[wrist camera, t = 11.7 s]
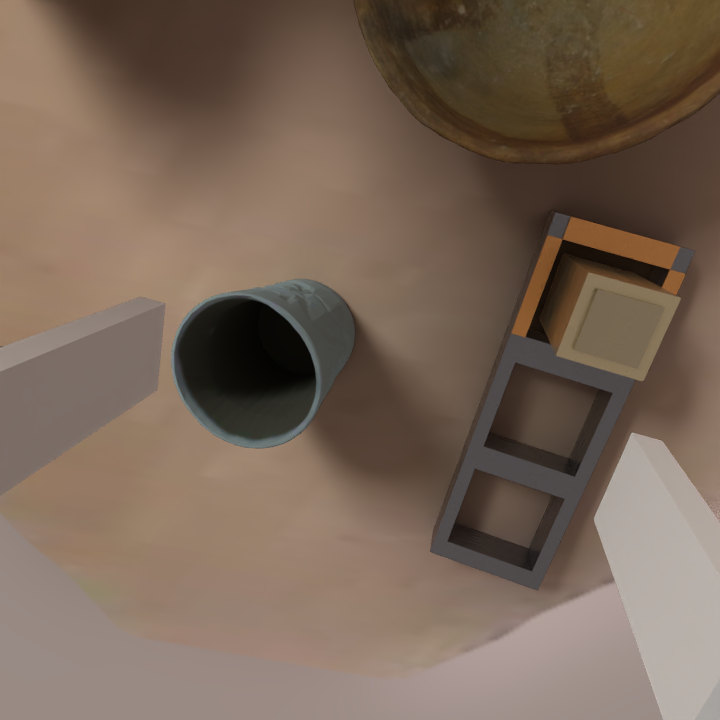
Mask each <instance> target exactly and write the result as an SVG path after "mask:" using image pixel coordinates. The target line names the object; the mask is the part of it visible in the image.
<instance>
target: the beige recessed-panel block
mask: <svg viewBox="0 0 720 720" xmlns="http://www.w3.org/2000/svg"><path fill="white" fill-rule="evenodd" d="M680 300H681V297H679V296H677V295H675V294H673V293H671V292H669V291H667V290H666V289H664V288H662V287H660V286H658V285H656V284H654V283H652V282H651V281H649V280H647V279H645V278H643V277H641V276H639V275H637V274H635V273H633V272H630V271H626V270H622V269H619V268H615V267H612V266H608V265H604V264H601V263H597V262H593V261H590V260H586V259H582V258H579V257H575V256H571V255H568V254H564V253H563V256H562V259H561V261H560V264H559V267H558V269H557V272H556V275H555V278H554V280H553V283H552V286H551V288H550V291H549V294H548V296H547V299H546V302H545V304H544V307H543V310H542V312H541V315H540V318H539V319H540V322H541V324H542V326H543V328H544V331H545V333H546V335H547V337H548V339H549V342H550V344H551V346H552V348H553V351H554V353H555V355H556V356H558V357H562V358H565V359H568V360H572V361H575V362H579V363H582V364H585V365H589V366H592V367H595V368H599V369H602V370H605V371H609V372H612V373H616V374H619V375H622V376H626V377H629V378H632V379H636V380H639V381H644V379H645V377H646V375H647V372H648V370H649V368H650V366H651V364H652V361H653V359H654V357H655V355H656V353H657V350H658V348H659V346H660V344H661V342H662V340H663V337H664V335H665V333H666V331H667V329H668V326H669V324H670V322H671V320H672V318H673V315H674V313H675V311H676V309H677V307H678V305H679V302H680Z"/></svg>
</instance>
